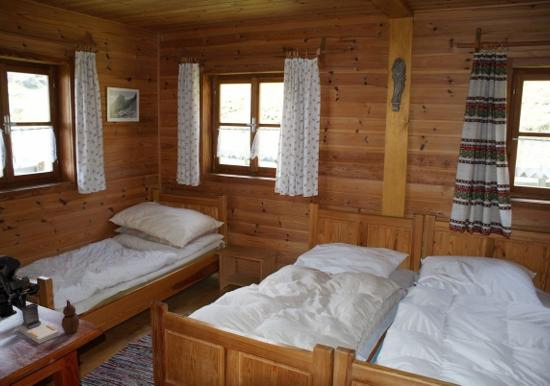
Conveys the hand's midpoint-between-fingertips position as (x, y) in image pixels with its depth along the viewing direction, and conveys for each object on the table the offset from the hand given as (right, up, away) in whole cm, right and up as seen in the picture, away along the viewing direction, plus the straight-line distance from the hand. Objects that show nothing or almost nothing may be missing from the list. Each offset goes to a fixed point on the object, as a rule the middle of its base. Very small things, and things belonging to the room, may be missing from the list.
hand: (25, 311), depth 197 cm
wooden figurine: (+21, -8, -3) cm, 22 cm away
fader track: (+8, -8, -4) cm, 12 cm away
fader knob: (+4, -5, -2) cm, 6 cm away
